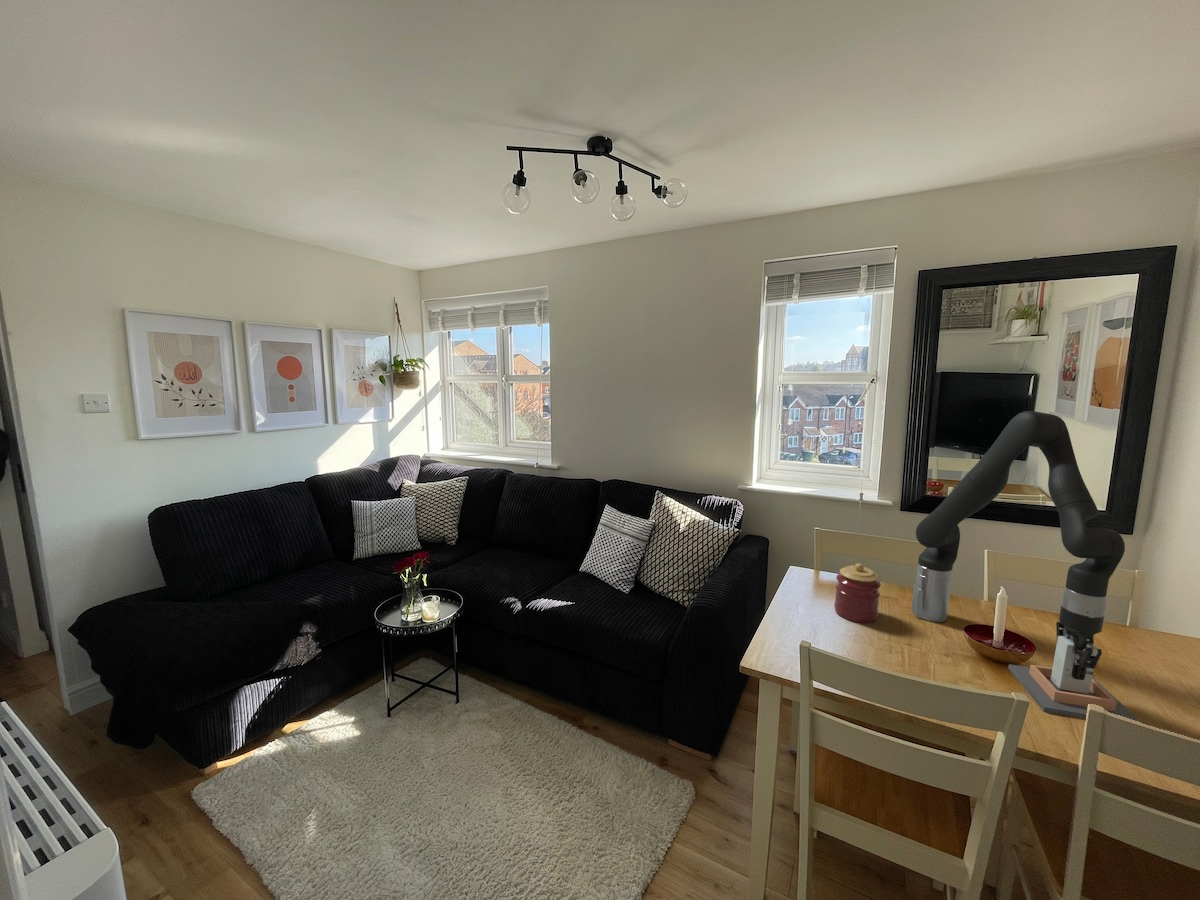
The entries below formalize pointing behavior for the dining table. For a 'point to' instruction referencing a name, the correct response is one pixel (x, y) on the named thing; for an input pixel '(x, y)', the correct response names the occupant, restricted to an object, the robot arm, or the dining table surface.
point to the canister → (857, 594)
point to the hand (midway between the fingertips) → (1071, 672)
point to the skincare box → (1068, 668)
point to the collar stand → (1065, 694)
